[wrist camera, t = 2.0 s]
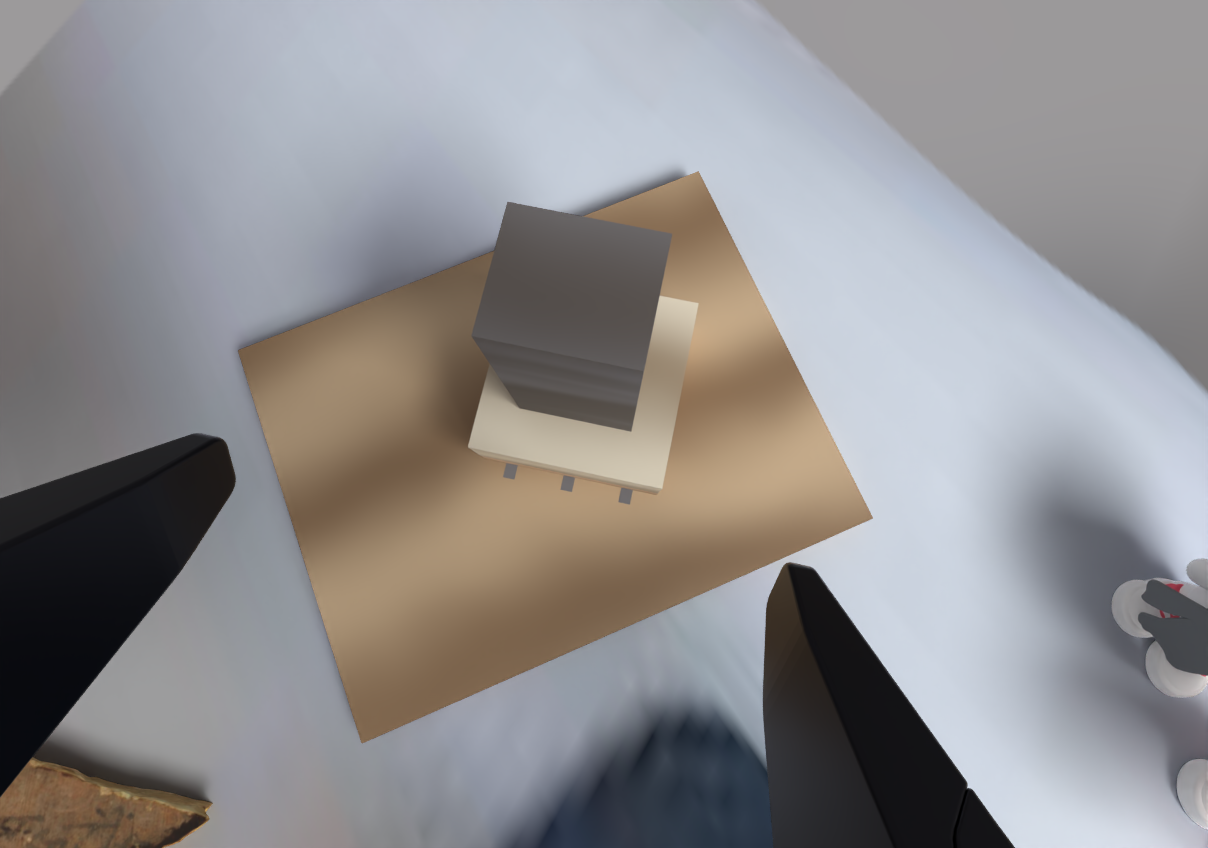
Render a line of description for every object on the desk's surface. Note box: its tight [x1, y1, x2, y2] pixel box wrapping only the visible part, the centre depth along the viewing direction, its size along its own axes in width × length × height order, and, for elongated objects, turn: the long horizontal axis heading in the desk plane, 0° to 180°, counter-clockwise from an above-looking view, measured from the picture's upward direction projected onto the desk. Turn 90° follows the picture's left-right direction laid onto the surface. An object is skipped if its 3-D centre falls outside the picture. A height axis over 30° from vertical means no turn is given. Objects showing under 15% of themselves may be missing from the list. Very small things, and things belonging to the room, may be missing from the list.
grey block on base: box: [468, 202, 699, 495], centre depth 17 cm, size 6×6×9 cm
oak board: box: [238, 171, 873, 743], centre depth 21 cm, size 14×18×1 cm
